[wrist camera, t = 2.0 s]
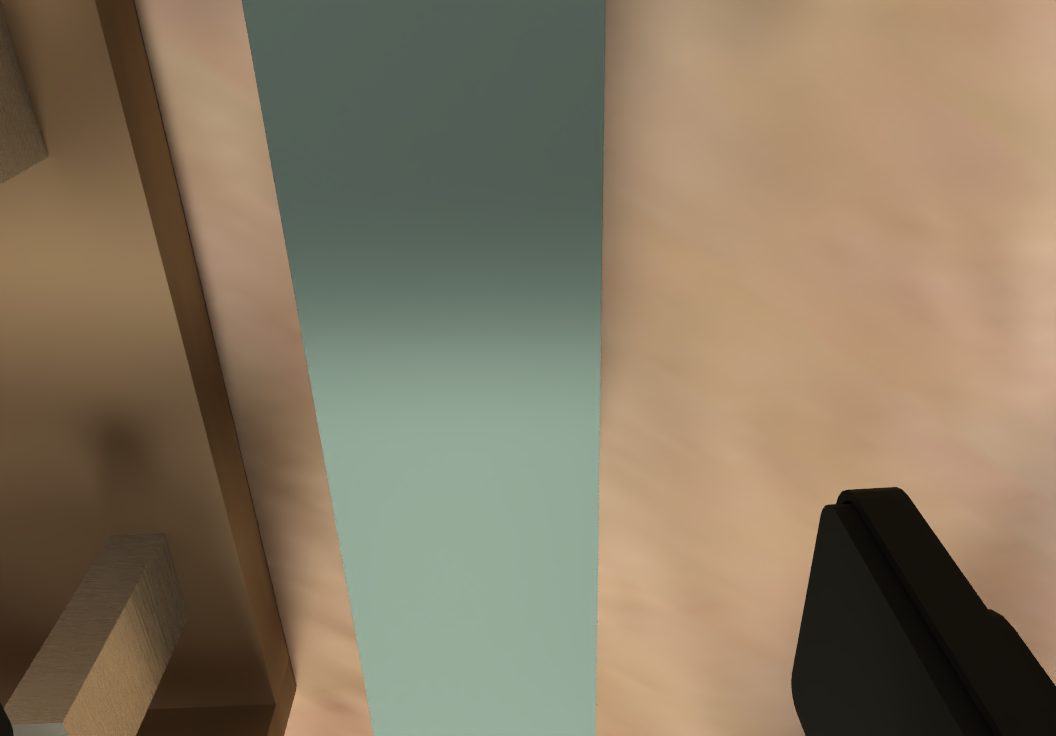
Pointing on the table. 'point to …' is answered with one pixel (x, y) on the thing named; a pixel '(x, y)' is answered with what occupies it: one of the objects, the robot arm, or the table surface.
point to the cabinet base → (115, 415)
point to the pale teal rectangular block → (451, 338)
